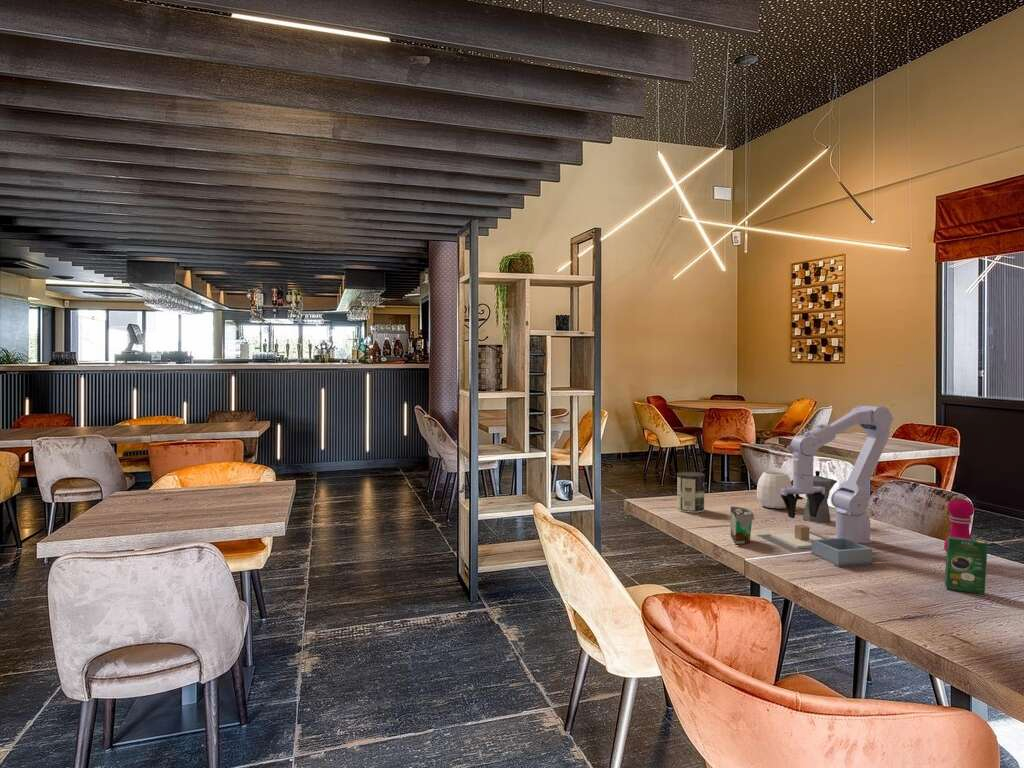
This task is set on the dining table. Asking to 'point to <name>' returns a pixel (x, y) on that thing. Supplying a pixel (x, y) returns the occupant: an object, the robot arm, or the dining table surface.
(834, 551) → the dish
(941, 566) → the dining table surface
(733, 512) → the food container
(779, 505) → the white vase
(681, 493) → the coffee can
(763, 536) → the mat
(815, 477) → the coffeepot
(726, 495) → the dining table surface
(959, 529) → the pepper mill
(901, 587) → the dining table surface
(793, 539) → the lid
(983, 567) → the coffee box
